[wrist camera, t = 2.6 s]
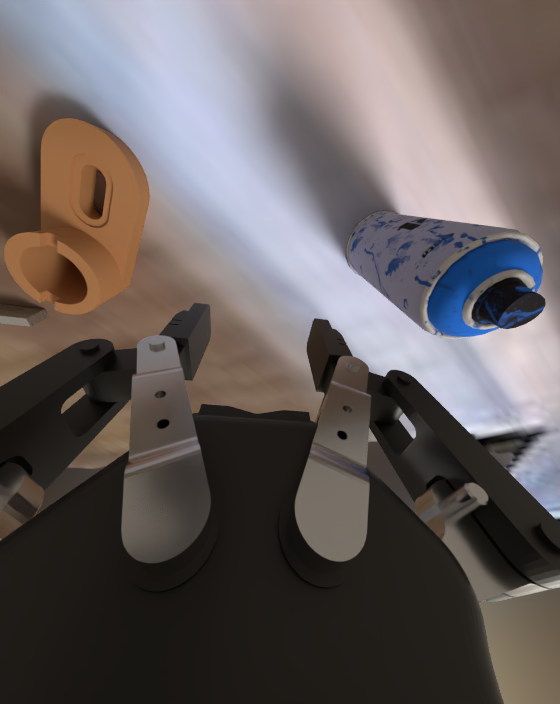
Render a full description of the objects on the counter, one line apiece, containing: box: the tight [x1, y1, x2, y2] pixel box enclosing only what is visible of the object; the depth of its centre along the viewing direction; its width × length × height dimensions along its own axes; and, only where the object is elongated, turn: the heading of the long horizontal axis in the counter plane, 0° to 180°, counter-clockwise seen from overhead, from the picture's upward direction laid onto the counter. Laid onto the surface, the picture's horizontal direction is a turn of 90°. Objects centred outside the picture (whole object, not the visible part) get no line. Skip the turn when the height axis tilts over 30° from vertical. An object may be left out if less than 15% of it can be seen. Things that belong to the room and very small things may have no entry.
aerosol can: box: [346, 211, 545, 339], centre depth 20 cm, size 8×8×20 cm
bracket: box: [4, 118, 150, 314], centre depth 23 cm, size 18×8×7 cm, turn 148°
